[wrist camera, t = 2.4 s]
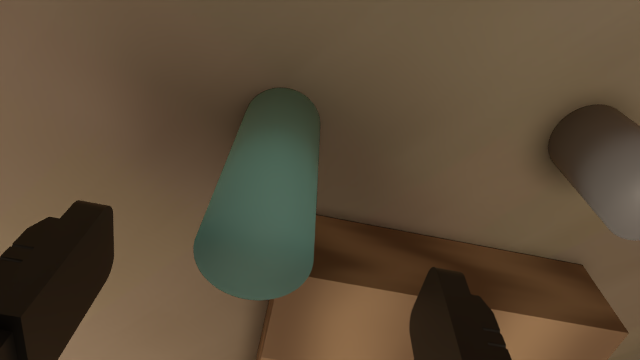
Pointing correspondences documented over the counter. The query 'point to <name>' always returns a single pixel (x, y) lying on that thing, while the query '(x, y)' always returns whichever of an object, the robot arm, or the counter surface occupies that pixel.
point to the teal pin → (264, 201)
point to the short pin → (602, 164)
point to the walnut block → (404, 286)
